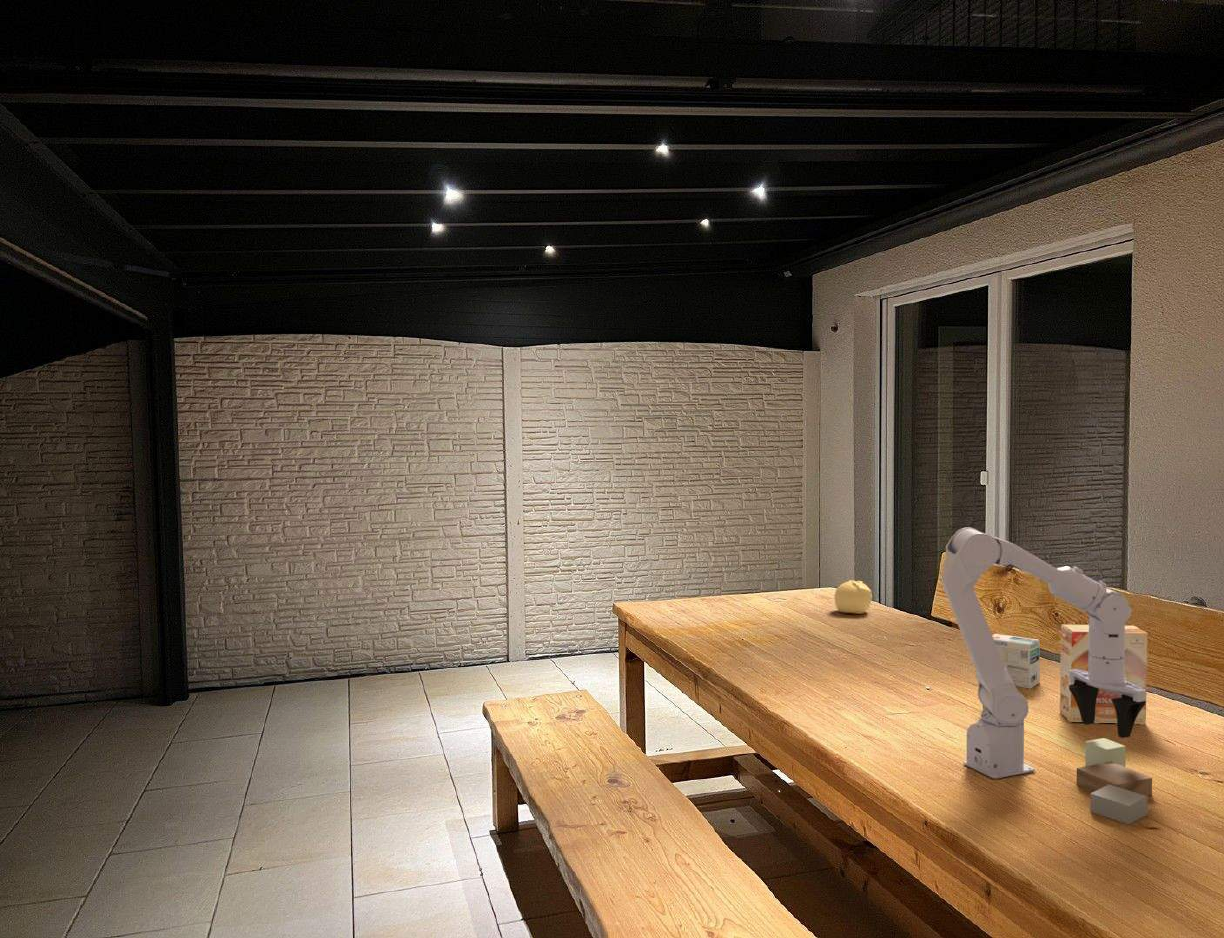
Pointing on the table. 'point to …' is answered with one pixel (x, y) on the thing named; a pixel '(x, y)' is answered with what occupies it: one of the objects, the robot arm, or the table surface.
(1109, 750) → the sage block
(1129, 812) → the slate block
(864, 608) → the pale yellow round lump
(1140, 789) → the walnut block
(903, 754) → the table surface
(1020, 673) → the light bulb box
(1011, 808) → the table surface
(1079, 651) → the coffeecake box
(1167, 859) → the table surface
